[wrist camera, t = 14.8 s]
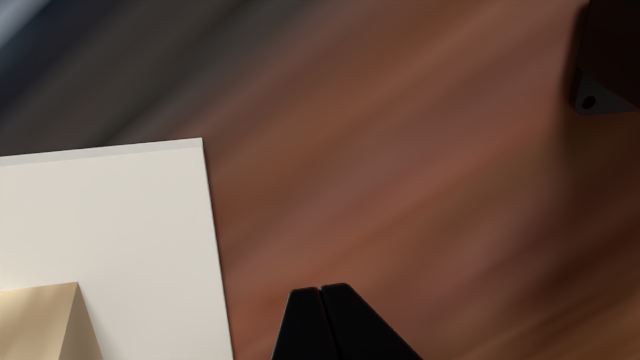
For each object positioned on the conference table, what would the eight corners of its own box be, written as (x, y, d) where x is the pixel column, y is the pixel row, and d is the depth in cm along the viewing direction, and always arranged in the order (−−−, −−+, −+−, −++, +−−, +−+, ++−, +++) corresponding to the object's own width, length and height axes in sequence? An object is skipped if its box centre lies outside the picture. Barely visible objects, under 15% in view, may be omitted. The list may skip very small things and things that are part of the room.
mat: (202, 137, 19) (202, 146, 18) (243, 431, 28) (244, 442, 27) (-283, 183, 17) (-298, 195, 17) (-73, 483, 26) (-78, 496, 25)
